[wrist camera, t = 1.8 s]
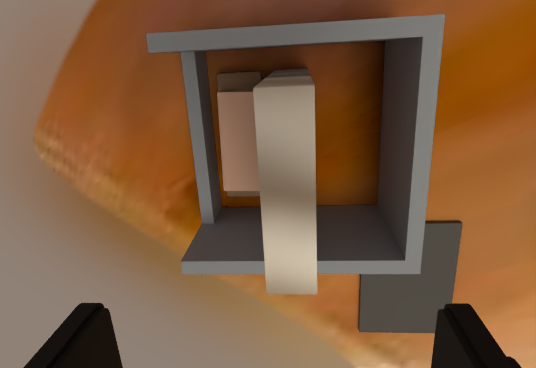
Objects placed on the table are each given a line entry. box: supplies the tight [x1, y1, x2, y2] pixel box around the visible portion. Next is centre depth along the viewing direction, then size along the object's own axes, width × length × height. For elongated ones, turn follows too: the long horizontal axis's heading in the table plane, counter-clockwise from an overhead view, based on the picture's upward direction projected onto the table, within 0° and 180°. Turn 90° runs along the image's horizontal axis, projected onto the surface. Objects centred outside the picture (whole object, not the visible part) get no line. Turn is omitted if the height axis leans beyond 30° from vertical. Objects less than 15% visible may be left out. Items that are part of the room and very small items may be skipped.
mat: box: [359, 221, 462, 333], centre depth 41 cm, size 14×10×1 cm
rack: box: [146, 14, 445, 274], centre depth 32 cm, size 18×19×11 cm
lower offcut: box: [216, 71, 263, 197], centre depth 37 cm, size 12×4×2 cm, turn 3°
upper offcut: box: [217, 89, 260, 191], centre depth 34 cm, size 9×4×2 cm, turn 1°
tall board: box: [253, 68, 317, 294], centre depth 29 cm, size 12×3×18 cm, turn 3°
